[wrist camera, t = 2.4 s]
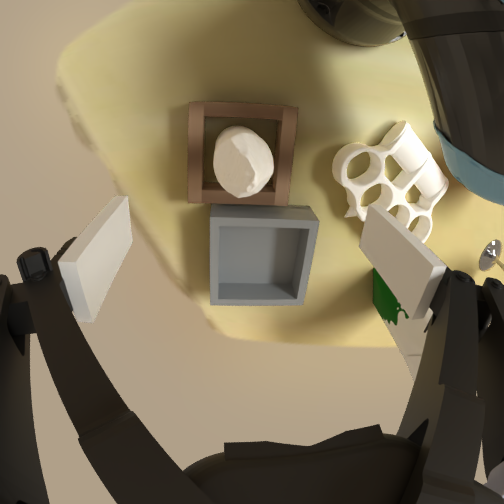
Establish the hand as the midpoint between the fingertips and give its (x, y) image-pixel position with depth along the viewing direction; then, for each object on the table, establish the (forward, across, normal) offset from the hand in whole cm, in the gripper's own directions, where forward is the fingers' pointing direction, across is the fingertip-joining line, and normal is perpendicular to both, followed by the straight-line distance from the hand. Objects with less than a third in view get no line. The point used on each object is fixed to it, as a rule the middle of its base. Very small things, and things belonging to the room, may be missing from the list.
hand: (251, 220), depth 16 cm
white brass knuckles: (+20, +20, -3) cm, 29 cm away
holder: (+20, 0, 0) cm, 20 cm away
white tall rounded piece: (+20, 0, 0) cm, 20 cm away
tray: (+20, +3, -12) cm, 23 cm away
